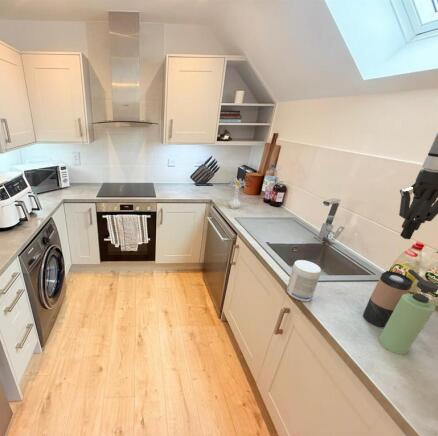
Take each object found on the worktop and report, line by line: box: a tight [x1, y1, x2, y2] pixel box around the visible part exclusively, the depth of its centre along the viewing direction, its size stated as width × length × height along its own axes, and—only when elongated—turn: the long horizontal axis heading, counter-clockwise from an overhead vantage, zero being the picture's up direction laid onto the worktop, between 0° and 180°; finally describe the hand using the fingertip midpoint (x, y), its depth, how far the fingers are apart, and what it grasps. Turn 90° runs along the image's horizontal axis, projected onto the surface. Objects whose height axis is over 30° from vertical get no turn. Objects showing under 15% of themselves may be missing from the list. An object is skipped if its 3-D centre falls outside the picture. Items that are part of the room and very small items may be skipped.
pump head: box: [407, 268, 438, 295], centre depth 72 cm, size 10×4×3 cm, turn 161°
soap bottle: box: [377, 292, 436, 356], centre depth 75 cm, size 7×7×21 cm
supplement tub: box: [286, 259, 322, 302], centre depth 99 cm, size 10×10×15 cm
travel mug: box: [362, 270, 414, 329], centre depth 85 cm, size 8×8×20 cm
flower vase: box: [228, 177, 247, 210], centre depth 194 cm, size 13×18×25 cm
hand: (404, 237), depth 83 cm, fingers closed
